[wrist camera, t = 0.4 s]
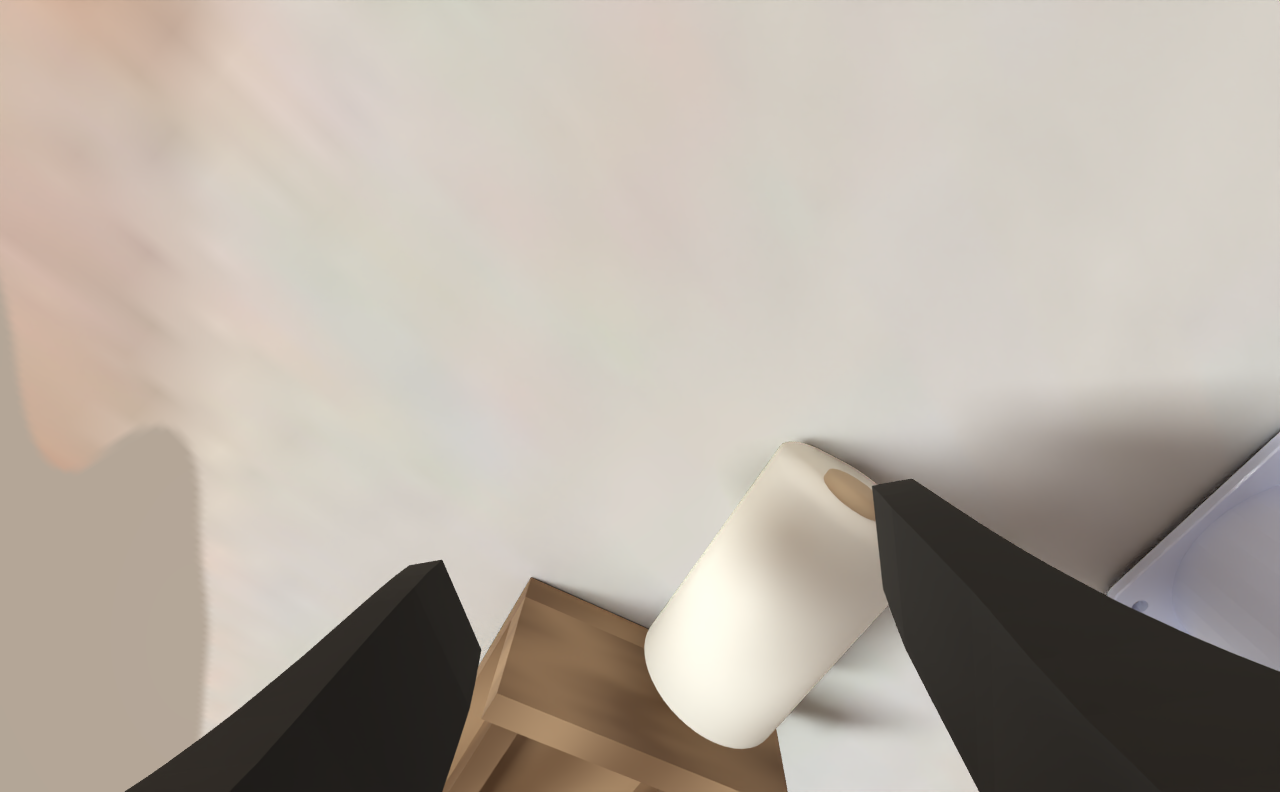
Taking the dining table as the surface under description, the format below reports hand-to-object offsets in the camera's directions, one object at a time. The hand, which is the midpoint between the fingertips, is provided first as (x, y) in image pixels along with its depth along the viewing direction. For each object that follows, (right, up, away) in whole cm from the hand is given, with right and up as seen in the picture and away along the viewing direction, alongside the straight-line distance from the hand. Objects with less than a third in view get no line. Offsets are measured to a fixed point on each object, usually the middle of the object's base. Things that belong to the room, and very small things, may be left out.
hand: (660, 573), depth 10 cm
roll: (+4, -2, +11) cm, 12 cm away
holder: (-3, -11, +15) cm, 19 cm away
